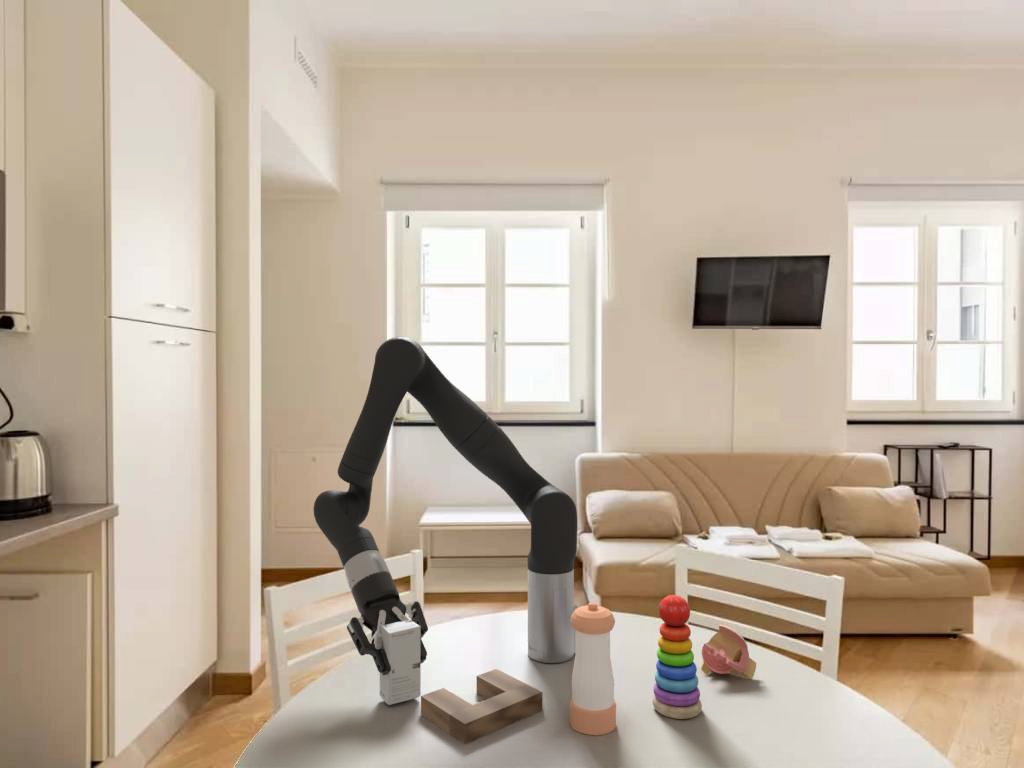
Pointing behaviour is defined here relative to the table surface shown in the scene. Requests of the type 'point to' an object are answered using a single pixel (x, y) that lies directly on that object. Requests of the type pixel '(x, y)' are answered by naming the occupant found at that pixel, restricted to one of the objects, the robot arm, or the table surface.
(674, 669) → the stacking toy
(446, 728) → the notched board
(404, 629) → the skincare box
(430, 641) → the table surface
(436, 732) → the table surface
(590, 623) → the pepper shaker
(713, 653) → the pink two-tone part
